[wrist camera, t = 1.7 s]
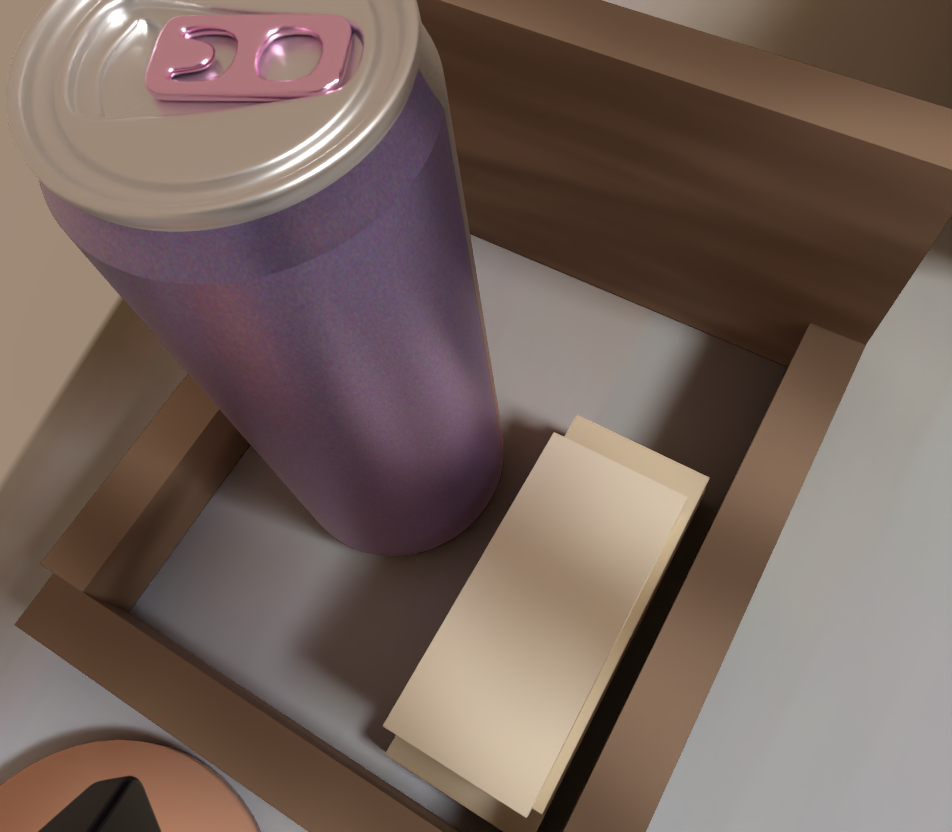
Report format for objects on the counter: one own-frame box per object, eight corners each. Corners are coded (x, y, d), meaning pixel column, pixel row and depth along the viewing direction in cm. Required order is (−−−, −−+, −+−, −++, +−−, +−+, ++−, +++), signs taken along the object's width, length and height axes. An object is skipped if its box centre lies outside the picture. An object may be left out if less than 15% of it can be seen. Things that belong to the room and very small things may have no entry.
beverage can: (496, 570, 23) (400, 234, 9) (287, 554, 24) (-82, 222, 10) (513, 377, 25) (457, -110, 12) (324, 369, 26) (66, -99, 13)
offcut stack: (529, 845, 20) (524, 854, 17) (393, 756, 21) (363, 748, 18) (700, 502, 24) (723, 454, 20) (574, 441, 25) (576, 386, 21)
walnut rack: (564, 986, 19) (565, 1126, 11) (54, 633, 23) (-217, 542, 15) (856, 347, 25) (999, 124, 17) (404, 165, 29) (343, -80, 21)
